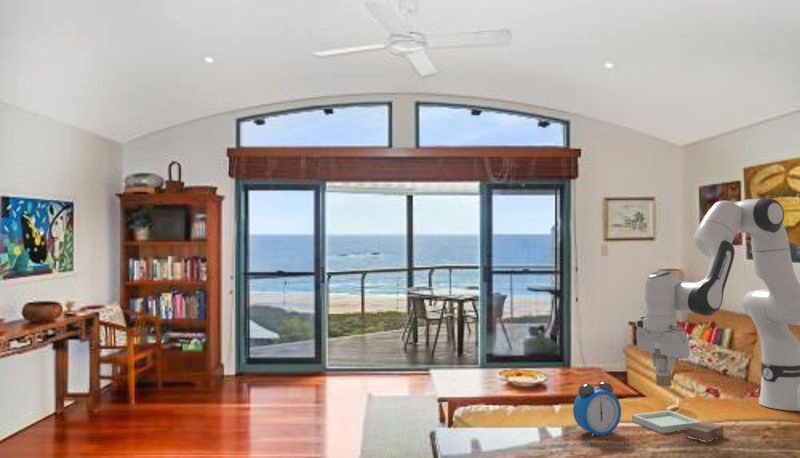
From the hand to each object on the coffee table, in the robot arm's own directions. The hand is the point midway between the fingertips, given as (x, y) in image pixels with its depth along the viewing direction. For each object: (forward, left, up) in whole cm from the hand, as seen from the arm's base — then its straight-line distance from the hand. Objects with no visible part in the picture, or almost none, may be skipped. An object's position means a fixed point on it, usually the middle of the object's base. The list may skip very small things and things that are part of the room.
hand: (663, 368), depth 189 cm
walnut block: (-2, +14, -17) cm, 22 cm away
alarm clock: (+24, 0, -17) cm, 30 cm away
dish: (0, 0, -17) cm, 17 cm away
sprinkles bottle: (0, 0, -5) cm, 5 cm away
